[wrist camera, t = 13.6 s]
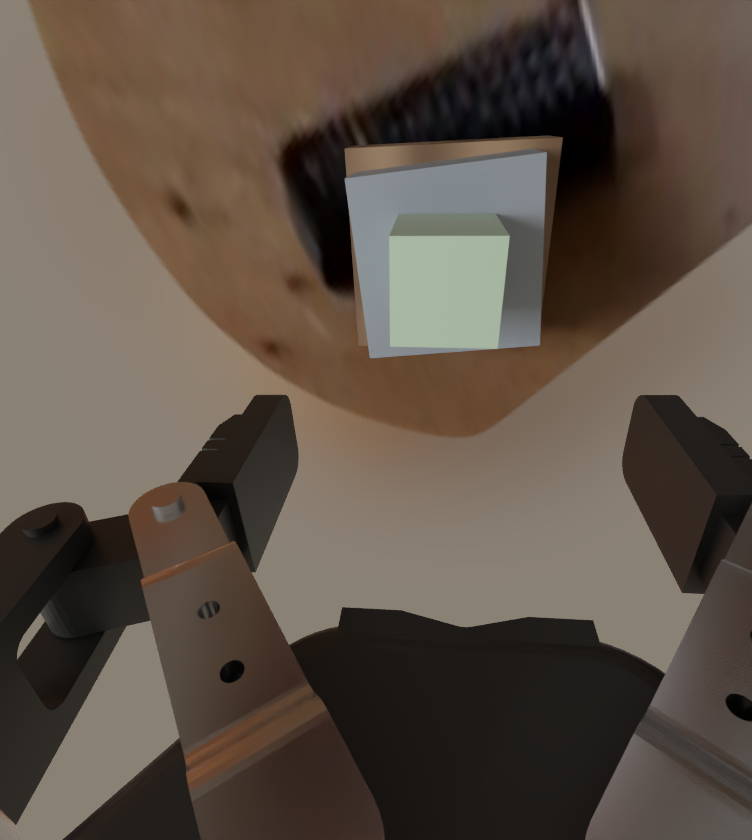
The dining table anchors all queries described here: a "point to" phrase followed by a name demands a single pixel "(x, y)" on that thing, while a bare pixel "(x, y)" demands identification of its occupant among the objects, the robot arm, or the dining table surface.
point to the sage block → (447, 280)
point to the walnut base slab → (446, 150)
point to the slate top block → (453, 194)
